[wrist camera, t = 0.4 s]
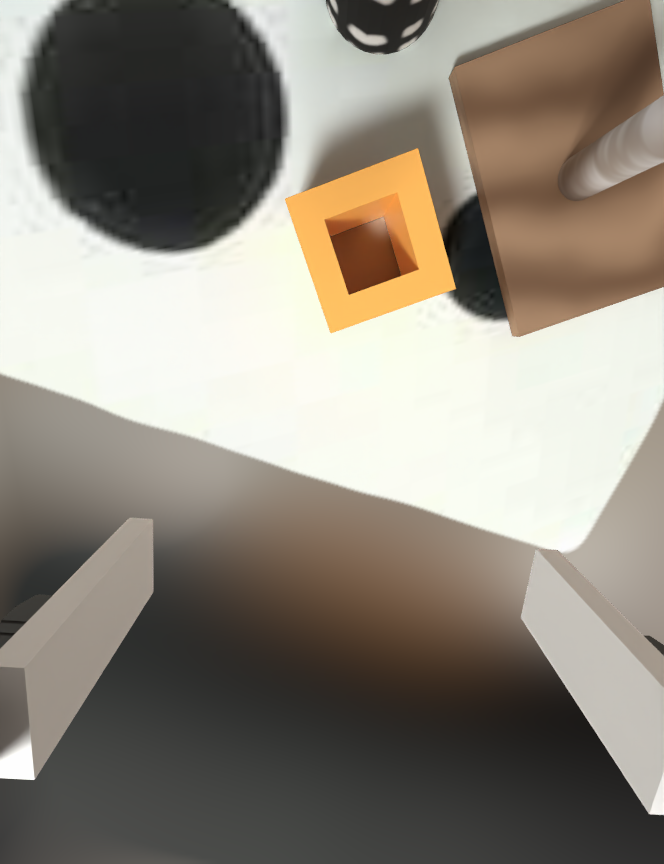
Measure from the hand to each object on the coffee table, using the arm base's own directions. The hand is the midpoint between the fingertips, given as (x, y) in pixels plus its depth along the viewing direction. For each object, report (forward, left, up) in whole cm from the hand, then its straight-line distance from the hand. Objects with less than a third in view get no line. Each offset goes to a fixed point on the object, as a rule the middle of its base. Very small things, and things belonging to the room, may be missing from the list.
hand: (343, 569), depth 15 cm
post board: (-12, +24, -25) cm, 36 cm away
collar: (-12, +7, -25) cm, 28 cm away
